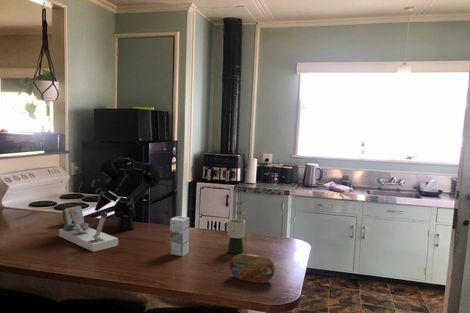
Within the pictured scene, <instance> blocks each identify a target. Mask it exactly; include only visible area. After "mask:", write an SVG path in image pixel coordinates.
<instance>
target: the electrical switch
mask: <svg viewBox="0 0 470 313" xmlns="http://www.w3.org/2000/svg"><path fill="white" fill-rule="evenodd" d="M82 208H83V207H82V205H78V206H72V207H67V208H64V210H62V212H61V213H62V217H63V223H64V225H68V224H74V222H73V219H72V217H71V215H70V214H69V213H68V211H69V210H70V209H74V210H75V215H76V218H77V220H78V222H79V225H80V224H82V223H85V219H84V215H83V214H84V212H83V209H82ZM74 225H75V224H74Z"/></svg>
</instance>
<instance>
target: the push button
mask: <svg viewBox="0 0 470 313" xmlns="http://www.w3.org/2000/svg"><path fill="white" fill-rule="evenodd" d="M80 227H81V229H82V230H84V229H88V227H89V223H87V222H84V223H82V224H80Z"/></svg>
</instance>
